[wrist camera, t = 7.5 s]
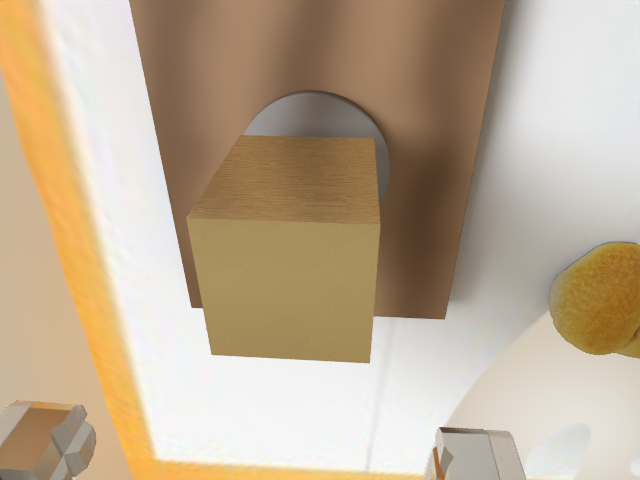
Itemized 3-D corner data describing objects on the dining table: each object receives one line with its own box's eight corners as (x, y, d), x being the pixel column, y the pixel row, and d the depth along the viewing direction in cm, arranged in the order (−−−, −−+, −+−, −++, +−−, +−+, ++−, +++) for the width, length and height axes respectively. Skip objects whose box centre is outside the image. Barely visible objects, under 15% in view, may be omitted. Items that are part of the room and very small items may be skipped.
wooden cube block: (374, 138, 19) (380, 224, 13) (367, 251, 22) (369, 362, 16) (239, 135, 19) (186, 217, 13) (251, 247, 22) (211, 354, 16)
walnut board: (502, -70, 20) (602, -83, 11) (439, 293, 30) (467, 420, 22) (140, -67, 21) (-4, -78, 12) (202, 283, 31) (147, 401, 23)
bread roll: (566, 230, 27) (595, 269, 24) (719, 243, 27) (770, 285, 24) (525, 331, 32) (545, 376, 29) (656, 343, 32) (692, 390, 28)
